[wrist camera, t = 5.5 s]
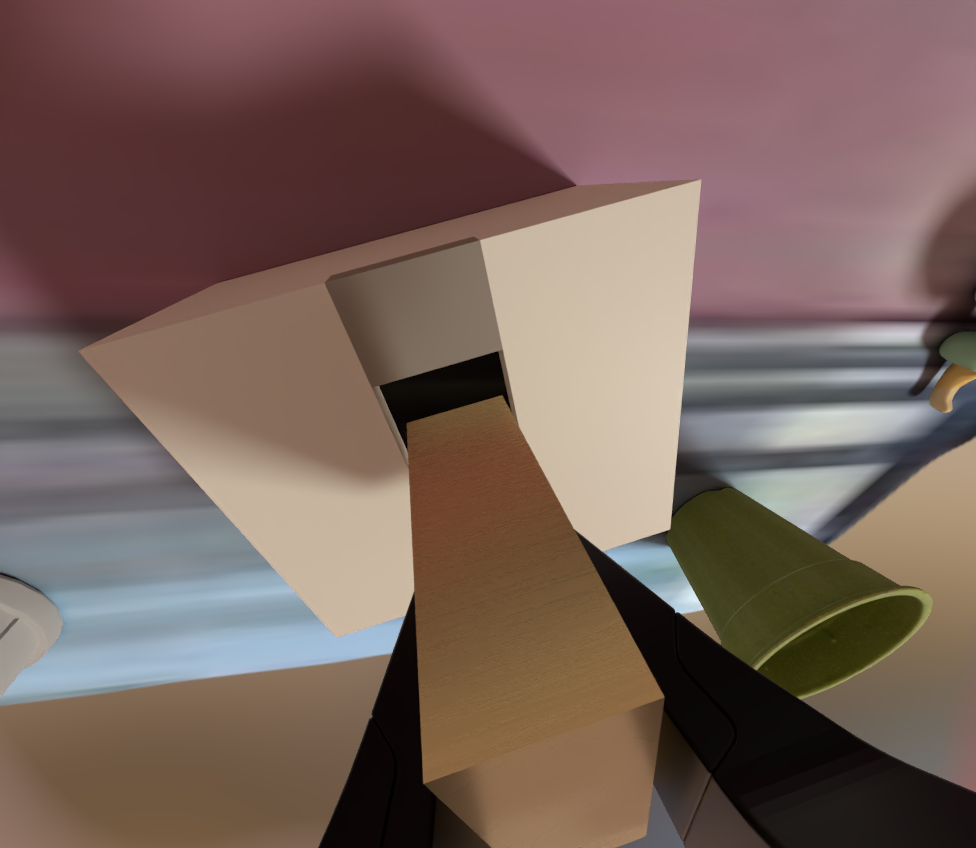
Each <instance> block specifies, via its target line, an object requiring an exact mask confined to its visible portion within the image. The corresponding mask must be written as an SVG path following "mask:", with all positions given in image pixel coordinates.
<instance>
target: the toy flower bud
mask: <svg viewBox="0 0 976 848" xmlns="http://www.w3.org/2000/svg"><path fill="white" fill-rule="evenodd" d="M975 300H976V291H975ZM939 353H940V355H941V356H942V357H943V358H944V359H946V360H948V361H950V362H952V364H951V365H950V366H949V367H948V368H947V369H946V371H945V372H944V373H943V375H942V376H941V378H940V379H939V381H938V382H937V384H936V385H935V387H934V389H933V390H932V392H931V394H930V405H931V406H932V407H933V408H935V409H936V410H938V411H940V412H944V413H945V412H950V411H951V410H952V398H953V396H954V395H955V393H956V392H957V390H958V389H959V388H960V387H961V386H963V385H964V384H966V383H968V382H970V381H971V380H974V379H976V331H975V332H972V331H962V332H958V333H956V334H953V335H952V336H950V337H949V338H948V339H946V340H945V341H944V342H943V343H942V345H941V346H940V349H939Z"/></svg>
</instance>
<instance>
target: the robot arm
mask: <svg viewBox="0 0 976 848" xmlns="http://www.w3.org/2000/svg"><path fill="white" fill-rule="evenodd" d="M574 530H575V529H574ZM575 532H576V534H577V535H578V537H579V539H580V541H581V543H582V545H583V547H584V548H585V550H586V552H587V554H588V556H589V558H590V560H591V561H592V563H593V565H594V567H595V569H596V571H597V573H598V574H599V576H600V578H601V580H602V582H603V584H604V586H605V587H606V589H607V591H608V593H609V595H610V597H611V599H612V600H613V602H614V604H615V606H616V608H617V610H618V612H619V613H620V615H621V617H622V619H623V621H624V623H625V625H626V626H627V628H628V630H629V632H630V634H631V636H632V638H633V639H634V641H635V643H636V645H637V647H638V649H639V651H640V652H641V654H642V656H643V658H644V660H645V662H646V664H647V665H648V667H649V669H650V671H651V673H652V675H653V677H654V678H655V680H656V682H657V684H658V686H659V688H660V690H661V691H662V693H663V695H664V697H665V699H664V706H663V714H662V721H661V728H660V736H659V743H658V751H657V758H656V765H655V773H654V780H653V784H654V786H655V788H656V790H657V792H658V794H659V796H660V798H661V800H662V802H663V804H664V806H665V808H666V810H667V812H668V814H669V816H670V818H671V820H672V822H673V824H674V826H675V828H676V830H677V832H678V834H679V836H680V838H681V840H682V841H684V846H685V848H976V792H974V791H972V790H969V789H967V788H964V787H962V786H960V785H957V784H955V783H952V782H950V781H948V780H945V779H943V778H940V777H938V776H936V775H933V774H931V773H928V772H926V771H923V770H921V769H919V768H916V767H914V766H912V765H909V764H907V763H905V762H903V761H901V760H899V759H897V758H895V757H893V756H890V755H889V754H887V753H885V752H883V751H881V750H879V749H877V748H875V747H874V746H872V745H870V744H868V743H867V742H865V741H863V740H861V739H860V738H858V737H856V736H855V735H853V734H852V733H850V732H849V731H847V730H846V729H844V728H842V727H841V726H839V725H838V724H836V723H835V722H833V721H832V720H830V719H829V718H827V717H825V716H824V715H823V714H821V713H820V712H818V711H817V710H815V709H814V708H812V707H811V706H809V705H808V704H806V703H805V702H803V701H802V700H800V699H799V698H797V697H796V696H794V695H793V694H791V693H790V692H788V691H787V690H785V689H784V688H782V687H781V686H779V685H778V684H776V683H775V682H773V681H772V680H770V679H769V678H767V677H766V676H764V675H763V674H761V673H760V672H758V671H757V670H755V669H754V668H752V667H751V666H750V665H748V664H747V663H745V662H744V661H742V660H741V659H740V658H738V657H737V656H735V655H734V654H732V653H731V652H729V651H728V650H727V649H725V648H724V647H722V646H721V645H720V644H718V643H717V642H716V641H714V640H713V639H712V638H710V637H709V636H708V635H707V634H705V633H704V632H703V631H701V630H700V629H699V628H697V627H696V626H695V625H694V624H692V623H691V622H690V621H688V620H687V619H686V618H685V617H684V616H682V615H681V614H680V613H678V612H676V613H675V610H674V609H673V608H672V607H671V606H670V605H668V604H667V603H666V602H665V601H663V600H662V599H661V598H660V597H658V596H657V595H656V594H655V593H654V592H652V591H651V590H650V589H649V588H647V587H646V586H645V585H644V584H642V583H641V582H640V581H639V580H637V579H636V578H635V577H634V576H632V575H631V574H630V573H629V572H627V571H626V570H625V569H624V568H622V567H621V566H620V565H619V564H617V563H616V562H615V561H614V560H612V559H611V558H610V557H609V556H607V555H606V554H605V553H604V552H602V551H601V550H600V549H599V548H597V547H596V546H595V545H594V544H592V543H591V542H590V541H589V540H587V539H586V538H585V537H584V536H582V535H581V534H580V533H579V532H577V531H576V530H575ZM372 716H373V717H371V718H370V719H369V721H368V724H367V727H366V730H365V733H364V735H363V739H362V742H361V744H360V747H359V749H358V752H357V755H356V758H355V760H354V763H353V765H352V768H351V771H350V773H349V776H348V779H347V781H346V784H345V786H344V788H343V791H342V793H341V796H340V798H339V800H338V803H337V805H336V808H335V810H334V812H333V815H332V817H331V819H330V822H329V824H328V826H327V829H326V831H325V833H324V835H323V838H322V840H321V842H320V845H319V847H318V848H491V847H490V846H489V845H488V844H487V843H486V842H485V841H484V840H483V839H482V838H481V837H480V836H479V835H478V834H476V833H475V832H474V831H473V830H472V829H471V828H470V827H469V826H468V825H467V824H466V823H465V822H464V821H463V820H461V819H460V818H459V817H458V816H457V815H456V814H455V813H454V812H453V811H452V810H451V809H450V808H449V807H448V806H446V805H445V804H444V803H443V802H442V801H441V800H440V799H439V798H438V797H437V796H436V795H435V794H434V793H433V792H431V791H430V790H429V789H428V788H427V787H426V786H425V785H424V784H423V766H422V744H421V723H420V701H419V680H418V658H417V637H416V615H415V594H414V593H413V595H412V598H411V601H410V604H409V607H408V610H407V613H406V615H405V618H404V621H403V624H402V627H401V630H400V633H399V636H398V638H397V641H396V644H395V647H394V650H393V653H392V656H391V659H390V662H389V664H388V667H387V670H386V673H385V676H384V679H383V681H382V684H381V687H380V690H379V693H378V696H377V699H376V702H375V704H374V707H373V710H372Z"/></svg>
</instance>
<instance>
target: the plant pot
mask: <svg viewBox="0 0 976 848" xmlns="http://www.w3.org/2000/svg"><path fill="white" fill-rule="evenodd" d="M666 539H667V542H668V544H669V546H670V548H671V550H672V552H673V553H674V555H675V557H676V559H677V561H678V563H679V565H680V566H681V568H682V570H683V572H684V574H685V576H686V577H687V579H688V581H689V583H690V585H691V587H692V588H693V590H694V592H695V594H696V596H697V597H698V599H699V601H700V603H701V605H702V607H703V609H704V610H705V612H706V614H707V616H708V617H709V620H710V621H711V623H712V625H713V627H714V629H715V631H716V633H717V634H718V636H719V638H720V640H721V646H722V647H724V648H725V649H727V650H728V651H729V652H731V653H732V654H734V655H735V656H737V657H738V658H740V659H741V660H742V661H744V662H745V663H747V664H748V665H750V666H751V667H752V668H754V669H755V670H757V671H758V672H760V673H761V674H763V675H764V676H766V677H767V678H769V679H770V680H772V681H773V682H775V683H776V684H778V685H779V686H781V687H782V688H784V689H785V690H787V691H788V692H790V693H791V694H793V695H794V696H796V697H797V698H799V699H803V698H806V697H809V696H811V695H814V694H816V693H819V692H822V691H824V690H827V689H829V688H831V687H833V686H836V685H838V684H840V683H842V682H844V681H846V680H848V679H850V678H851V677H853V676H855V675H857V674H859V673H861V672H862V671H864V670H866V669H868V668H870V667H871V666H873V665H874V664H876V663H877V662H879V661H881V660H882V659H883V658H885V657H886V656H888V655H890V654H891V653H892V652H894V651H895V650H896V649H898V648H899V647H900V646H901V645H902V644H904V643H905V642H906V641H907V640H908V639H909V638H910V637H911V636H912V635H913V634H914V633H915V632H916V631H917V630H918V629H919V628H920V627H921V626H922V625H923V624H924V622H925V621H926V619H927V618H928V615H929V614H930V612H931V610H932V604H933V602H932V598H931V596H930V595H929V594H928V593H927V592H925V591H924V590H921V589H919V588H916V587H911V586H900V585H898V584H896V583H894V582H893V581H891V580H889V579H888V578H886V577H884V576H883V575H881V574H879V573H877V572H876V571H874V570H873V569H871V568H869V567H868V566H866V565H864V564H862V563H860V562H857V561H853V560H850V559H849V558H847V557H845V556H844V555H842V554H840V553H839V552H837V551H835V550H834V549H832V548H831V547H829V546H827V545H826V544H824V543H822V542H821V541H819V540H818V539H816V538H814V537H813V536H811V535H810V534H808V533H806V532H805V531H803V530H802V529H800V528H798V527H797V526H795V525H794V524H792V523H790V522H789V521H787V520H785V519H784V518H782V517H781V516H779V515H777V514H776V513H774V512H772V511H771V510H769V509H767V508H766V507H764V506H763V505H761V504H759V503H758V502H756V501H755V500H753V499H751V498H750V497H748V496H747V495H745V494H743V493H742V492H740V491H738V490H736V489H733V488H724V489H723V490H720V491H707V492H704V493H702V494H700V495H698V496H696V497H694V498H693V499H691V500H690V501H688V502H687V503H686V504H684V505H683V506H682V507H681V508H680V509H679V510H678V511H677V512H676V513H675V515H674V516H673V517H672V519H671V526H670V530H669V531H668V534H667V535H666Z"/></svg>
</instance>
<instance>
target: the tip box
mask: <svg viewBox="0 0 976 848" xmlns="http://www.w3.org/2000/svg"><path fill="white" fill-rule="evenodd" d="M700 188H701V179H698V180H678V181H658V182H638V183H618V184H598V185H578V186H574V187H570V188H567V189H563V190H559V191H556V192H552V193H548V194H545V195H541V196H537V197H534V198H530V199H526V200H522V201H519V202H515V203H511V204H508V205H504V206H500V207H497V208H493V209H489V210H486V211H482V212H478V213H475V214H471V215H467V216H463V217H460V218H456V219H452V220H449V221H445V222H441V223H438V224H434V225H430V226H427V227H423V228H419V229H415V230H412V231H408V232H404V233H401V234H397V235H393V236H390V237H386V238H382V239H379V240H375V241H371V242H368V243H364V244H360V245H356V246H353V247H349V248H345V249H342V250H338V251H334V252H331V253H327V254H323V255H320V256H316V257H312V258H309V259H305V260H301V261H297V262H294V263H290V264H286V265H283V266H279V267H275V268H272V269H268V270H264V271H261V272H257V273H253V274H250V275H246V276H242V277H238V278H235V279H231V280H227V281H224V282H220V283H216V284H214V285H212V286H210V287H208V288H206V289H204V290H202V291H200V292H198V293H196V294H194V295H192V296H190V297H187V298H185V299H183V300H181V301H179V302H177V303H175V304H173V305H171V306H169V307H167V308H165V309H163V310H161V311H159V312H157V313H155V314H153V315H150V316H148V317H146V318H144V319H142V320H140V321H138V322H136V323H134V324H132V325H130V326H128V327H126V328H124V329H122V330H120V331H118V332H116V333H113V334H111V335H109V336H107V337H105V338H103V339H101V340H99V341H97V342H95V343H93V344H91V345H89V346H87V347H85V348H83V349H81V350H79V351H78V352H79V353H80V354H81V355H82V356H83V357H84V359H85V360H86V361H87V362H88V363H89V364H90V365H91V366H92V367H93V368H94V370H95V371H96V372H97V373H98V374H99V375H100V376H101V377H102V378H103V380H104V381H105V382H106V383H107V384H108V385H109V386H110V387H111V388H112V390H113V391H114V392H115V393H116V394H117V395H118V396H119V397H120V398H121V400H122V401H123V402H124V403H125V404H126V405H127V406H128V407H129V408H130V409H131V411H132V412H133V413H134V414H135V415H136V416H137V417H138V418H139V419H140V421H141V422H142V423H143V424H144V425H145V426H146V427H147V428H148V429H149V431H150V432H151V433H152V434H153V435H154V436H155V437H156V438H157V439H158V441H159V442H160V443H161V444H162V445H163V446H164V447H165V448H166V449H167V450H168V452H169V453H170V454H171V455H172V456H173V457H174V458H175V459H176V460H177V462H178V463H179V464H180V465H181V466H182V467H183V468H184V469H185V470H186V472H187V473H188V474H189V475H190V476H191V477H192V478H193V479H194V480H195V482H196V483H197V484H198V485H199V486H200V487H201V488H202V489H203V490H204V491H205V493H206V494H207V495H208V496H209V497H210V498H211V499H212V500H213V501H214V503H215V504H216V505H217V506H218V507H219V508H220V509H221V510H222V511H223V513H224V514H225V515H226V516H227V517H228V518H229V519H230V520H231V521H232V523H233V524H234V525H235V526H236V527H237V528H238V529H239V530H240V531H241V532H242V534H243V535H244V536H245V537H246V538H247V539H248V540H249V541H250V542H251V544H252V545H253V546H254V547H255V548H256V549H257V550H258V551H259V552H260V554H261V555H262V556H263V557H264V558H265V559H266V560H267V561H268V562H269V564H270V565H271V566H272V567H273V568H274V569H275V570H276V571H277V572H278V573H279V575H280V576H281V577H282V578H283V579H284V580H285V581H286V582H287V583H288V585H289V586H290V587H291V588H292V589H293V590H294V591H295V592H296V593H297V595H298V596H299V597H300V598H301V599H302V600H303V601H304V602H305V603H306V605H307V606H308V607H309V608H310V609H311V610H312V611H313V612H314V613H315V614H316V616H317V617H318V618H319V619H320V620H321V621H322V622H323V623H324V624H325V626H326V627H327V628H328V629H329V630H330V631H331V632H332V633H333V634H334V636H335V637H336V638H337V637H340V636H344V635H347V634H350V633H353V632H356V631H359V630H362V629H365V628H368V627H371V626H374V625H377V624H381V623H384V622H387V621H390V620H393V619H396V618H399V617H402V616H405V615H406V613H407V610H408V607H409V604H410V601H411V598H412V595H413V593H414V572H413V551H412V529H411V508H410V486H409V465H408V452H407V449H406V447H405V445H404V442H403V440H402V438H401V435H400V433H399V431H398V429H397V426H396V424H395V422H394V419H393V417H392V415H391V413H390V410H389V408H388V406H387V403H386V401H385V399H384V397H383V394H382V392H381V390H380V387H379V386H380V385H383V384H387V383H390V382H394V381H397V380H400V379H404V378H407V377H411V376H414V375H418V374H421V373H424V372H428V371H431V370H435V369H438V368H442V367H445V366H448V365H452V364H455V363H459V362H462V361H466V360H469V359H472V358H476V357H479V356H483V355H486V354H490V353H493V352H496V351H498V352H499V357H500V361H501V366H502V370H503V375H504V380H505V384H506V389H507V393H508V398H509V403H510V407H511V412H512V415H513V417H514V418H515V420H516V422H517V424H518V426H519V428H520V430H521V431H522V433H523V435H524V437H525V439H526V441H527V443H528V444H529V446H530V448H531V450H532V452H533V454H534V456H535V457H536V459H537V461H538V463H539V465H540V467H541V469H542V470H543V472H544V474H545V476H546V478H547V480H548V482H549V483H550V485H551V487H552V489H553V491H554V493H555V495H556V496H557V498H558V500H559V502H560V504H561V506H562V508H563V509H564V511H565V513H566V515H567V517H568V519H569V521H570V522H571V524H572V526H573V528H574V529H575V530H576V531H577V532H579V533H580V534H581V535H582V536H584V537H585V538H586V539H587V540H589V541H590V542H591V543H592V544H594V545H595V546H596V547H597V548H599V549H600V550H601V551H605V550H608V549H611V548H614V547H617V546H621V545H624V544H627V543H630V542H633V541H636V540H639V539H642V538H645V537H648V536H651V535H654V534H658V533H661V532H664V531H667V530H670V526H671V515H672V504H673V492H674V481H675V470H676V459H677V447H678V436H679V425H680V413H681V402H682V391H683V380H684V368H685V357H686V346H687V334H688V323H689V312H690V301H691V289H692V278H693V267H694V256H695V244H696V233H697V222H698V210H699V199H700Z"/></svg>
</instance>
